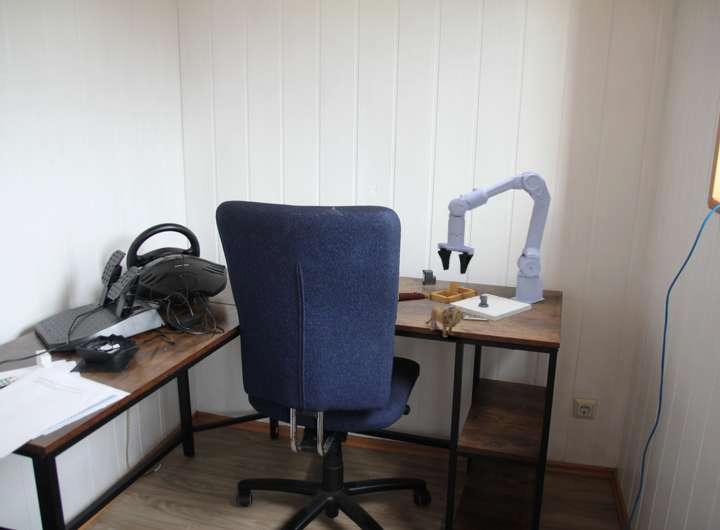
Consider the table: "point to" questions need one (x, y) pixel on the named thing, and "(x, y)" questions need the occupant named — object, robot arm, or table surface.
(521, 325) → the table surface
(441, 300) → the orange link
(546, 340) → the table surface
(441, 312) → the lion figurine
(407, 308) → the table surface
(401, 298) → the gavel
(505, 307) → the board
